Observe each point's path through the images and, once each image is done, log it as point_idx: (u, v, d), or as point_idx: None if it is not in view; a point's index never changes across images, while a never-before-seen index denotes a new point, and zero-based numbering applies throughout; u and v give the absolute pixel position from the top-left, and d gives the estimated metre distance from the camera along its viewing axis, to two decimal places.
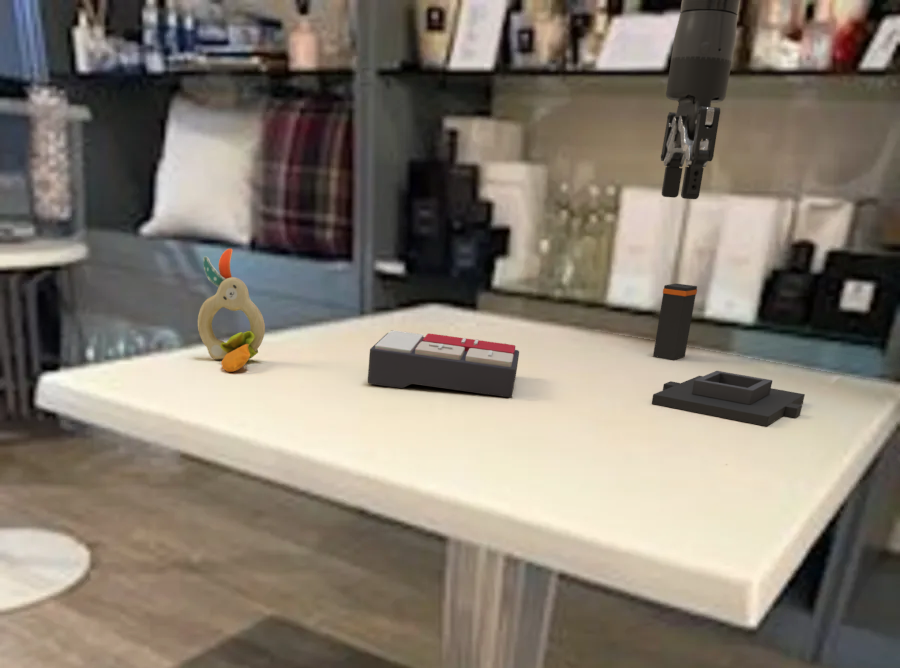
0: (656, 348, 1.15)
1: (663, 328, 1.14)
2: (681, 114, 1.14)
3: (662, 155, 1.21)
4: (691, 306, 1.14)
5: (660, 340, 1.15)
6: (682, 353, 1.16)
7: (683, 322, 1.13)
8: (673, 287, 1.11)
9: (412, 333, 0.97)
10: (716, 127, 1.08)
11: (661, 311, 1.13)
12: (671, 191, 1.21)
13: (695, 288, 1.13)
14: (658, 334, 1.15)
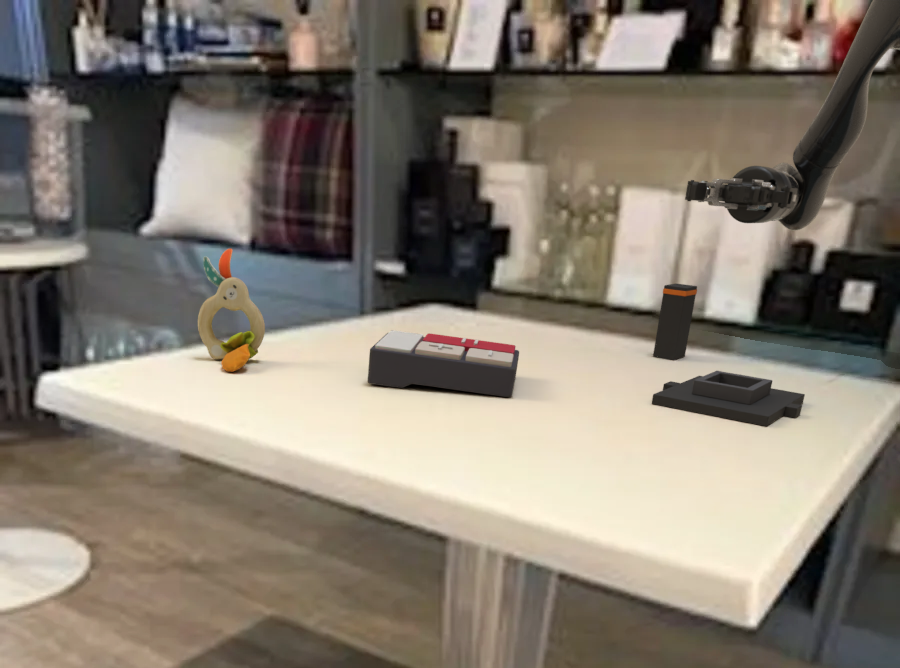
0: (656, 348, 1.15)
1: (663, 328, 1.14)
2: None
3: (780, 207, 1.18)
4: (691, 306, 1.14)
5: (660, 340, 1.15)
6: (682, 353, 1.16)
7: (683, 322, 1.13)
8: (673, 287, 1.11)
9: (412, 333, 0.97)
10: None
11: (661, 311, 1.13)
12: None
13: (695, 288, 1.13)
14: (658, 334, 1.15)
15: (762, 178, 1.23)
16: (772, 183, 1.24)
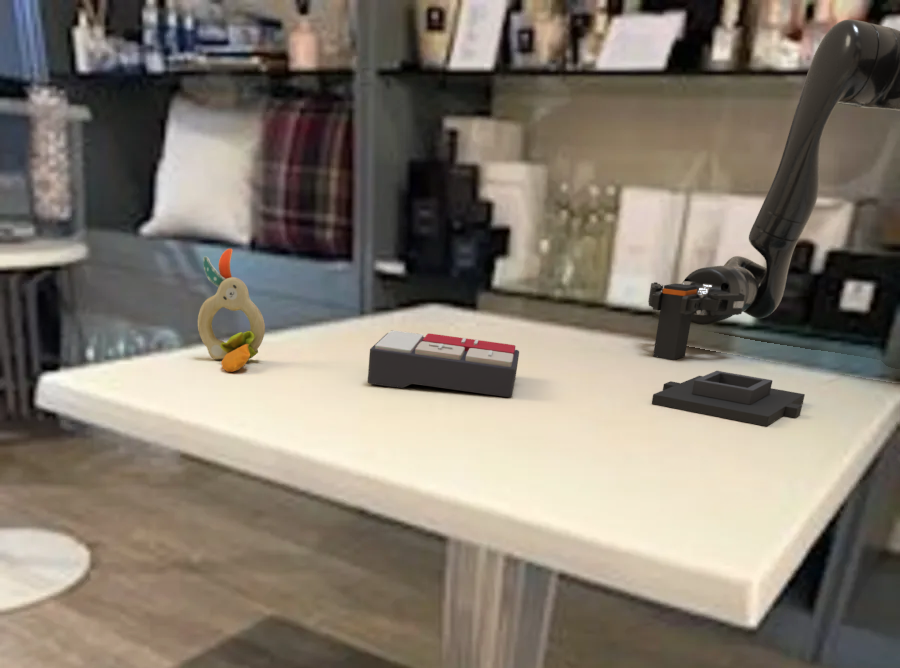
0: (656, 348, 1.15)
1: (663, 328, 1.14)
2: None
3: None
4: None
5: (660, 340, 1.15)
6: (682, 353, 1.16)
7: (683, 322, 1.13)
8: (673, 287, 1.11)
9: (412, 333, 0.97)
10: (651, 285, 1.20)
11: (661, 311, 1.13)
12: None
13: (695, 288, 1.13)
14: (658, 334, 1.15)
15: (715, 281, 1.19)
16: (725, 285, 1.20)
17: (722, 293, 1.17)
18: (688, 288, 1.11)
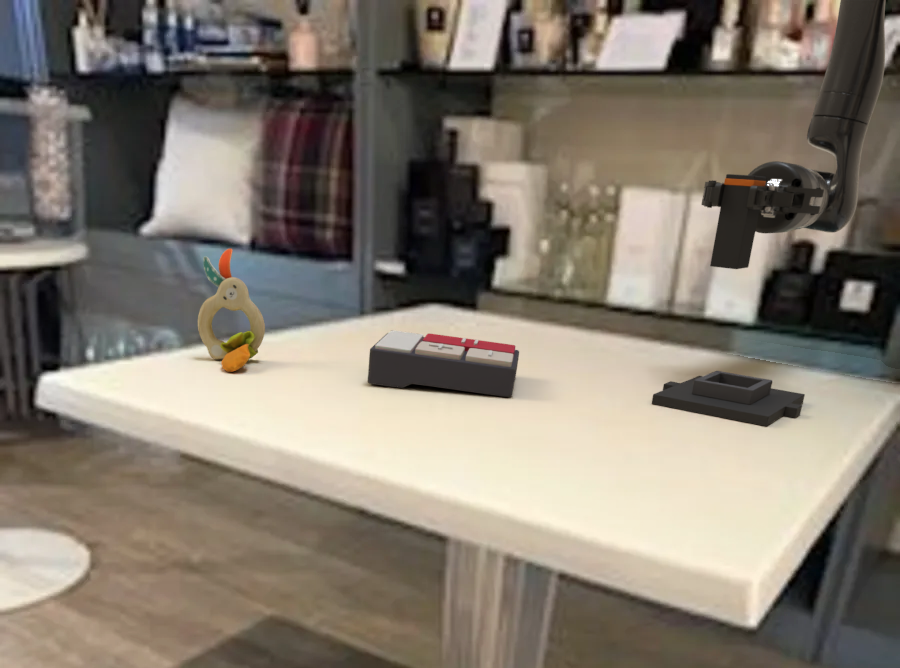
0: (714, 255, 0.94)
1: (724, 230, 0.92)
2: None
3: None
4: None
5: (720, 245, 0.93)
6: (746, 262, 0.95)
7: (749, 222, 0.92)
8: (738, 176, 0.90)
9: (412, 333, 0.97)
10: (705, 183, 0.98)
11: (722, 208, 0.92)
12: None
13: (764, 179, 0.92)
14: (717, 237, 0.93)
15: (784, 177, 0.98)
16: (796, 183, 0.99)
17: None
18: (757, 177, 0.90)
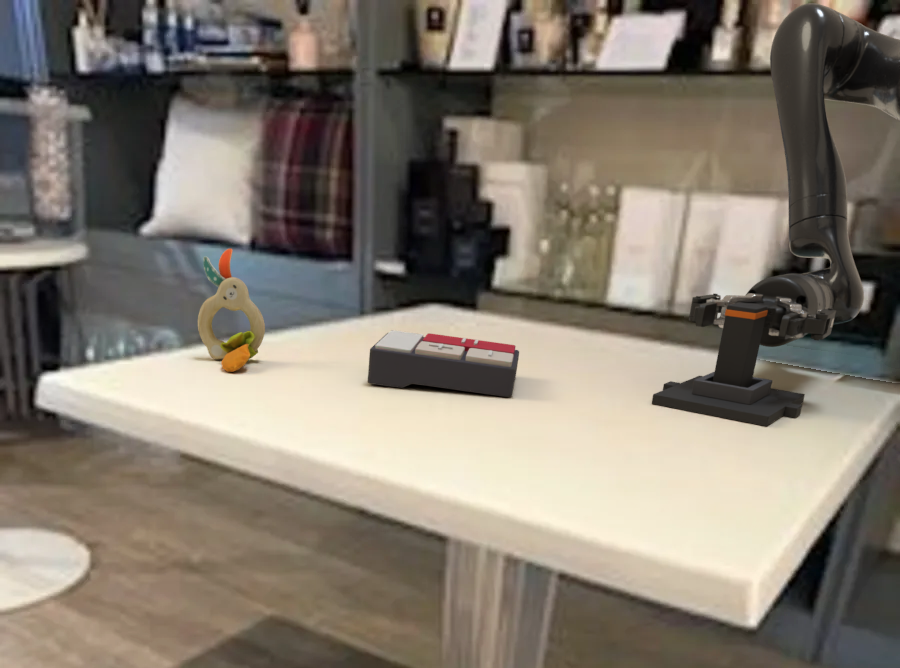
0: None
1: (725, 360, 0.90)
2: None
3: (814, 338, 0.90)
4: (760, 332, 0.90)
5: (720, 374, 0.91)
6: None
7: (750, 352, 0.89)
8: (739, 308, 0.88)
9: (412, 333, 0.97)
10: (704, 296, 0.97)
11: (722, 338, 0.90)
12: None
13: (765, 309, 0.89)
14: (718, 366, 0.91)
15: (788, 293, 0.95)
16: (801, 299, 0.96)
17: None
18: (758, 309, 0.88)
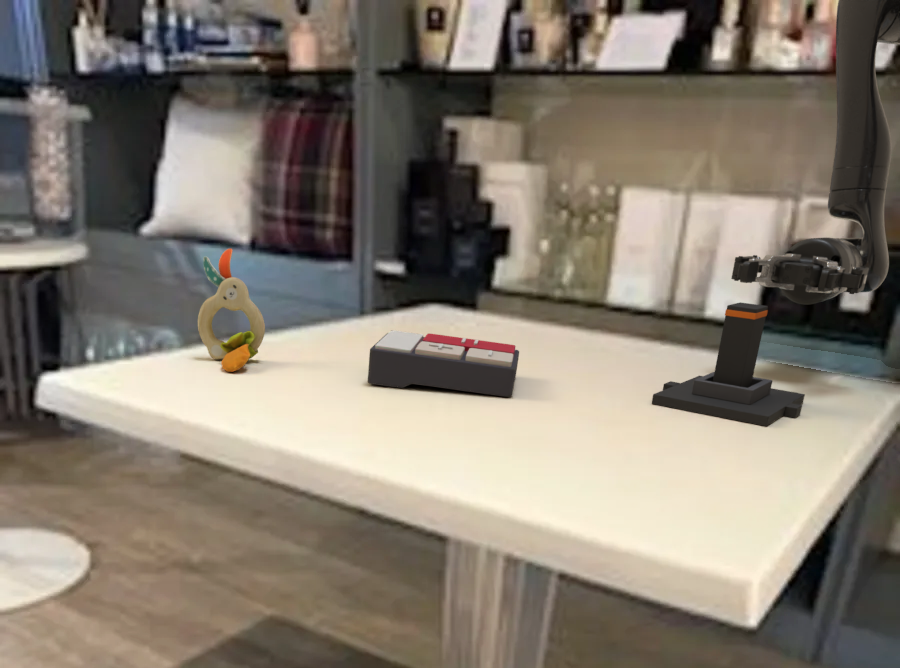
0: None
1: (725, 360, 0.90)
2: None
3: (849, 292, 0.97)
4: (760, 332, 0.90)
5: (720, 374, 0.91)
6: None
7: (750, 352, 0.89)
8: (739, 308, 0.88)
9: (412, 333, 0.97)
10: None
11: (722, 338, 0.90)
12: None
13: (765, 309, 0.89)
14: (718, 366, 0.91)
15: (824, 253, 1.03)
16: (835, 259, 1.04)
17: None
18: (758, 309, 0.88)
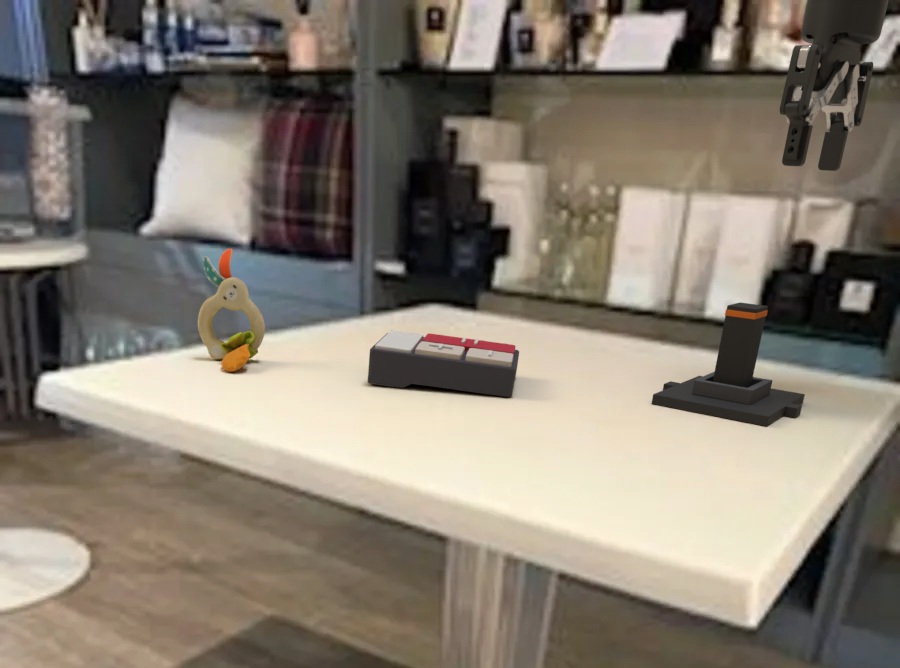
0: None
1: (725, 360, 0.90)
2: None
3: None
4: (760, 332, 0.90)
5: (720, 374, 0.91)
6: None
7: (750, 352, 0.89)
8: (739, 308, 0.88)
9: (412, 333, 0.97)
10: (809, 70, 0.84)
11: (722, 338, 0.90)
12: (828, 162, 0.95)
13: (765, 309, 0.89)
14: (718, 366, 0.91)
15: (865, 42, 0.87)
16: None
17: None
18: (758, 309, 0.88)
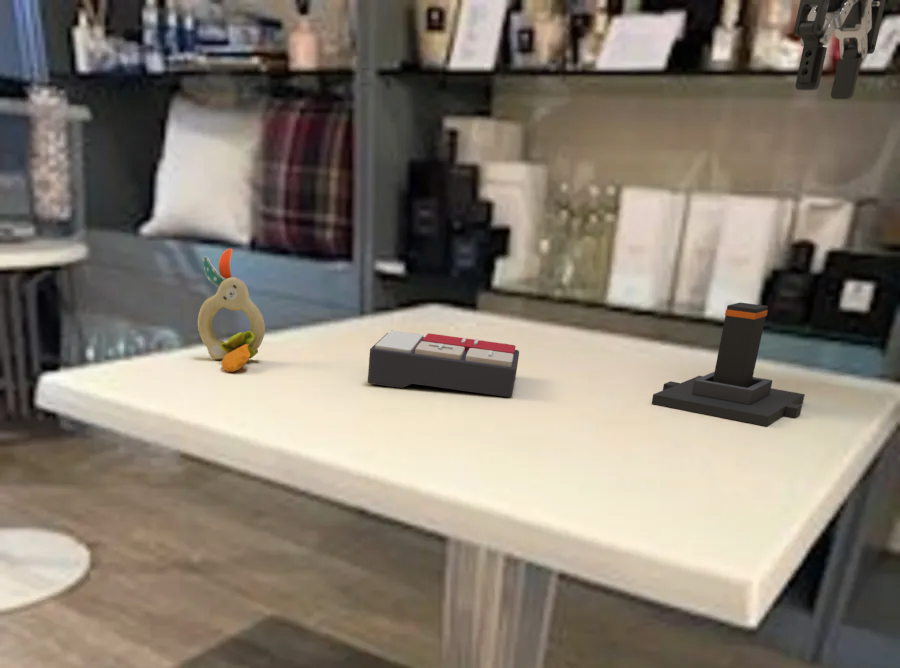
0: None
1: (725, 360, 0.90)
2: None
3: None
4: (760, 332, 0.90)
5: (720, 374, 0.91)
6: None
7: (750, 352, 0.89)
8: (739, 308, 0.88)
9: (412, 333, 0.97)
10: None
11: (722, 338, 0.90)
12: (841, 90, 0.94)
13: (765, 309, 0.89)
14: (718, 366, 0.91)
15: None
16: None
17: None
18: (758, 309, 0.88)
